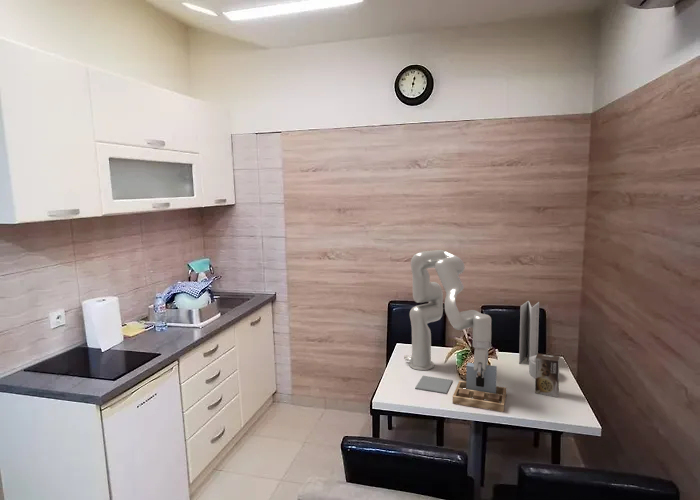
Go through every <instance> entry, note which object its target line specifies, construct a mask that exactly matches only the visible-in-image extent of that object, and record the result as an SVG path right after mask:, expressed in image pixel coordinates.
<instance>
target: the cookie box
mask: <svg viewBox="0 0 700 500" xmlns="http://www.w3.org/2000/svg"><path fill="white" fill-rule="evenodd" d="M534 379H535V380H534V381H535V382H534V383H535V384H534V385H535V386H534V387H535V390H534V393H535V394H537V395H544V396H550V397H555V398H558V397H559V392H560V391H559V390H560V356H559V355H552V354H547V353H546V354H545V353H539V352H538V353H537V356H536V371H535V378H534Z"/></svg>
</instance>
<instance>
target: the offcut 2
mask: <svg viewBox="0 0 700 500" xmlns="http://www.w3.org/2000/svg"><path fill="white" fill-rule="evenodd" d="M484 397H485V393H484V392H478V391H474V394H473V398H472V399H478V400H484ZM484 401H485V400H484Z"/></svg>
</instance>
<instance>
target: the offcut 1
mask: <svg viewBox="0 0 700 500" xmlns="http://www.w3.org/2000/svg"><path fill="white" fill-rule="evenodd" d="M458 396H459V397H466V398H471V397H470V390H465V389H460V390H459V395H458Z"/></svg>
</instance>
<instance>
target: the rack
mask: <svg viewBox="0 0 700 500" xmlns="http://www.w3.org/2000/svg"><path fill="white" fill-rule="evenodd" d="M463 388H466V380H459V381H458V383H457V384H456V387H455V390H454V392H453V395H452V404H454V405H459V404H460V406H465V405H466V406H467V407H471V406H472V407H473V408H477V409H483V410H489V409H490V410H489V411H495V412H502V413H504V412H505V411H504V410H505V405H506V399H507V387H503V386H498V385H496V394H497V395H500V403H496V402H490V401H488V399H489V394H490V393H489V392H484V393H485V397H484V399H486V400H478V399H473V398H471V397H473V394H474V391H476V390H470V398H466V397H459V390H460V389H463ZM465 390H469V389H465ZM478 392H482V391H478ZM491 394H495V393H491Z"/></svg>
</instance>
